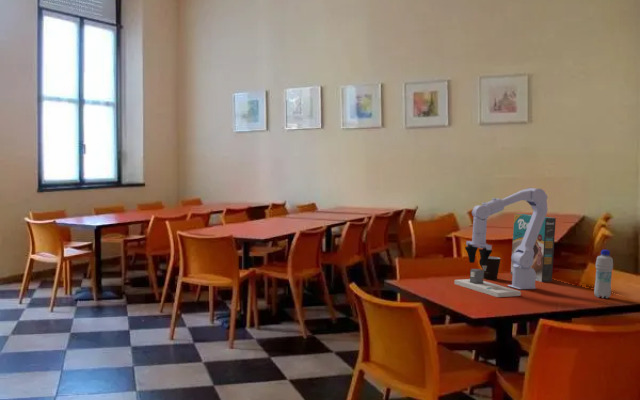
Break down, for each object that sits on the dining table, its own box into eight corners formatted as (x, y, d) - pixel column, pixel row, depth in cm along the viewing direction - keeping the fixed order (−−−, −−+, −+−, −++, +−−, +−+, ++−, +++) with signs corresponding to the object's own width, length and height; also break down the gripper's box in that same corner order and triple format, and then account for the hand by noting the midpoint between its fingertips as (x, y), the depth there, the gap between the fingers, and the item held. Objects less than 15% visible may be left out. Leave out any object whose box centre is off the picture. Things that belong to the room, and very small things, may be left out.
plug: (476, 285, 271) (477, 268, 270) (482, 287, 267) (483, 270, 267) (468, 286, 269) (469, 269, 269) (474, 287, 265) (475, 270, 265)
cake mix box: (510, 273, 308) (514, 213, 306) (520, 273, 310) (524, 214, 309) (541, 281, 288) (545, 218, 286) (551, 281, 290) (555, 218, 288)
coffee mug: (501, 280, 286) (502, 259, 286) (483, 279, 286) (484, 258, 286) (494, 276, 298) (496, 255, 297) (476, 275, 298) (478, 254, 297)
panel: (476, 282, 278) (476, 278, 277) (520, 295, 252) (520, 290, 252) (454, 283, 272) (454, 279, 272) (497, 297, 247) (497, 292, 247)
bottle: (609, 296, 259) (613, 249, 258) (611, 299, 252) (615, 251, 251) (592, 294, 261) (595, 248, 260) (594, 297, 255) (597, 249, 253)
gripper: (461, 231, 272) (459, 261, 273) (483, 235, 259) (481, 267, 259) (474, 231, 275) (472, 261, 276) (496, 235, 262) (494, 266, 262)
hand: (477, 264), depth 268 cm, fingers open, 7 cm apart
